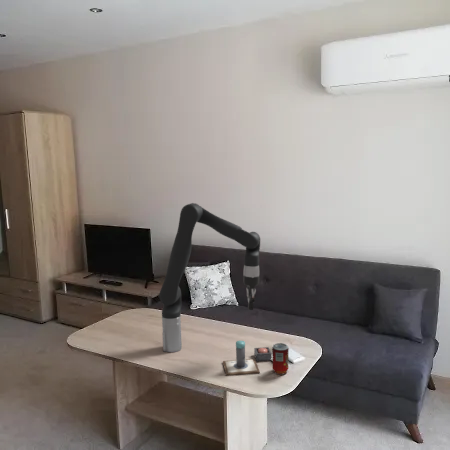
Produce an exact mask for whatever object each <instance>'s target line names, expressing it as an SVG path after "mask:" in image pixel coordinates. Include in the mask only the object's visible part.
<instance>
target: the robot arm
mask: <svg viewBox="0 0 450 450" xmlns="http://www.w3.org/2000/svg"><path fill="white" fill-rule="evenodd" d="M197 223H199V224H203V225H205V226H208V227H210V228H211V229H213V230H214V231H216V232H217V233H218V234H220V235H222V236H224V237H226V238H228V239H230V240H233V241H235V242H237V243H238V244H239V245H241V246H243V247H244V248H245V253H244V259H243V261H244V262H243V276H242V279H243V284H244V286H247V287H246V289H245V290H246V298H247V299H246V300H247V302H248V303H247V304H248V305H247V309H248V310H249V311H253V310H254V303H255V301H256V296H257V295H256V292H257V289H256V287H255V286H258V285H259V284H260V250H261V236H260V235H259V233H258V232H257V231H251V232H248V231H247V230H244V229H243V228H242V227H241V226H239V225H238V224H235V223H233V222H230V221H228V220H226V219H223V218H222V217H220V216H217V215H216V214H214V213H212V212H210V211H208V210H207V209H205V208H204V207H202V206H201V205H199V204H198V203H194V202H192V203H187V204H186V205H184V206H183V207H182V208H181V210H180V214H179V221H178V226H177V232H176V235H175V238H174V241H173V243H172V248H171V251H170V255H169V260H168V264H167V269H166V274H165V278H164V280H163V284H162V286H161V289H160V291H159V295H158V297H159V300H160V302H161V303H162V305H163V307H162V310H161V320H162V322H161V323H162V328H161V329H162V332H161V333H162V351H163V352H167V353H176V352H178V351H181V350H182V347H183V346H182V320H181V319H182V318H181V316H182V315H181V311H182V290H181V288H180V286H179V285H180V282H181V279H182V276H183V275H184V273H185V271H186V268H187V267H188V263H189V261H190V257H191V253H192V242H193V241H192V237H193V233H194V229H195V226H196V225H197Z"/></svg>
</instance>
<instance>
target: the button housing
mask: <svg viewBox="0 0 450 450" xmlns="http://www.w3.org/2000/svg"><path fill="white" fill-rule="evenodd" d="M259 348H260V347H254V349H253V350H254V351H253V353H254V359H255V361H256V362H264V361H265V362H267V361H268V362H269V361H271V360H270V359H271V358H272V359H273V352H272V351H271V349H270V347H269V346H268V347H267V346H266V347H265V346H264V347H262V348H266V349H267V353H258V349H259Z"/></svg>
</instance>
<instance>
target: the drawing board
mask: <svg viewBox="0 0 450 450" xmlns="http://www.w3.org/2000/svg"><path fill="white" fill-rule="evenodd" d="M222 363H223V364H222V365H223V369H224V372H225V376H226V377H228V376H241V375H243V376H244V375H256V374H257V375H258V374H261V372H260V369H259V367H258V365H257V360H256V358H250V359H249V358H248V359H246V358H245V367H237V366H236V359H233V360H223V361H222Z"/></svg>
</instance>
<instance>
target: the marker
mask: <svg viewBox="0 0 450 450" xmlns="http://www.w3.org/2000/svg"><path fill="white" fill-rule="evenodd" d="M235 352H236V353H235V355H236V357H235V358H236V359H235V360H236V366H237V367H245V359H246V341H244V340H236V342H235Z"/></svg>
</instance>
